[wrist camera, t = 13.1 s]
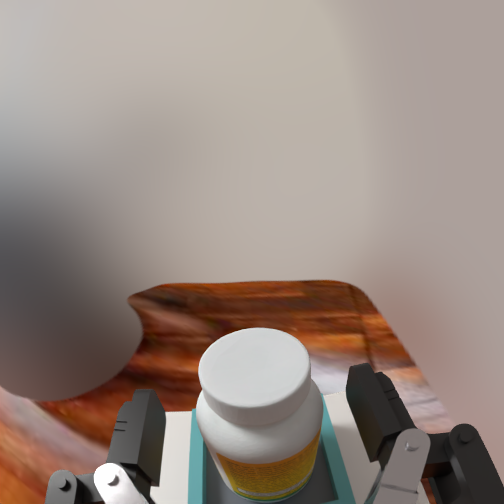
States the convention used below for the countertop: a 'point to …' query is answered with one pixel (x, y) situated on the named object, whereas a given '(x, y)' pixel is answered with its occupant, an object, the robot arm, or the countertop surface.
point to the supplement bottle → (260, 413)
